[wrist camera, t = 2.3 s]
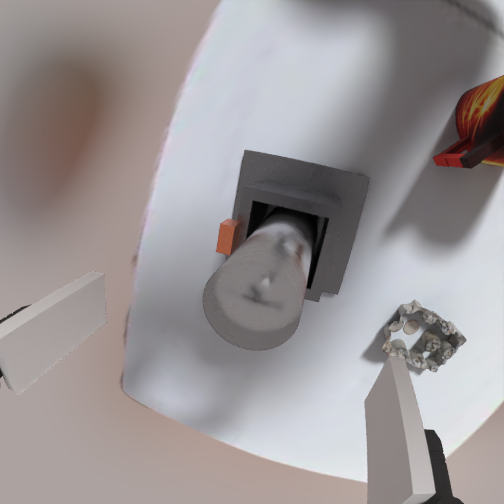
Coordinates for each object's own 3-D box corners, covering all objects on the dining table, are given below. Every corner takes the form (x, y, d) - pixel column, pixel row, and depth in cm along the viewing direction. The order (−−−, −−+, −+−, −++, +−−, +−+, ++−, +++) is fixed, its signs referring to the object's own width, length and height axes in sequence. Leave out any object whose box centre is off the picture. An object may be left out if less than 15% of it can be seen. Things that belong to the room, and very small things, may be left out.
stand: (247, 149, 33) (208, 146, 22) (368, 177, 31) (390, 186, 20) (227, 262, 38) (187, 305, 27) (337, 291, 36) (339, 347, 25)
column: (274, 194, 33) (204, 243, 14) (323, 206, 32) (319, 272, 14) (264, 245, 35) (193, 342, 16) (311, 257, 34) (288, 370, 16)
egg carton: (374, 333, 37) (378, 351, 33) (410, 289, 34) (418, 304, 30) (427, 365, 36) (433, 383, 32) (461, 326, 33) (471, 342, 30)
